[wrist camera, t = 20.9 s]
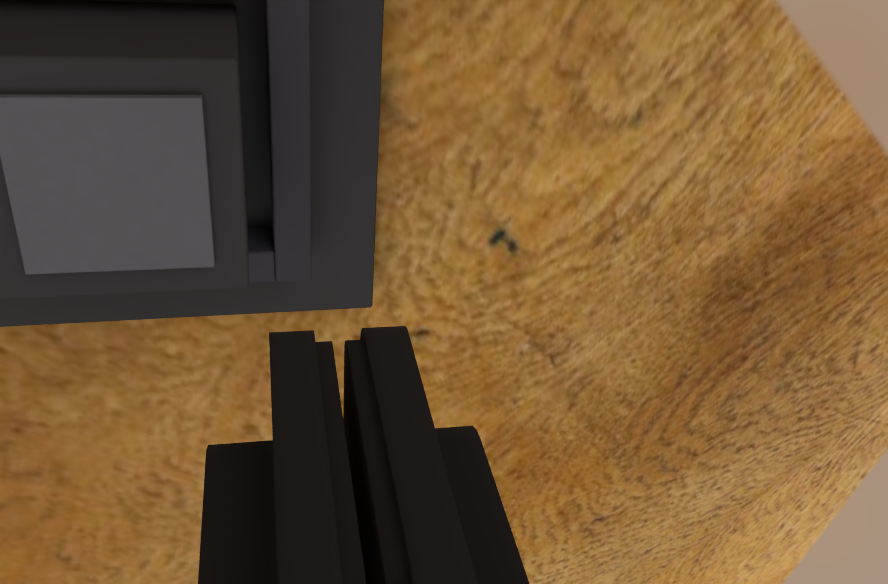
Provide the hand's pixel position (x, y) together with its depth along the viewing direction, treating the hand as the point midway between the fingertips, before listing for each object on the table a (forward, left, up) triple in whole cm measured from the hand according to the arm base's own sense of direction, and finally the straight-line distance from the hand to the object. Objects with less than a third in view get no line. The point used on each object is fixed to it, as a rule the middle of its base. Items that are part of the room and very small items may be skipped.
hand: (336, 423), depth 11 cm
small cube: (+4, +1, -14) cm, 14 cm away
